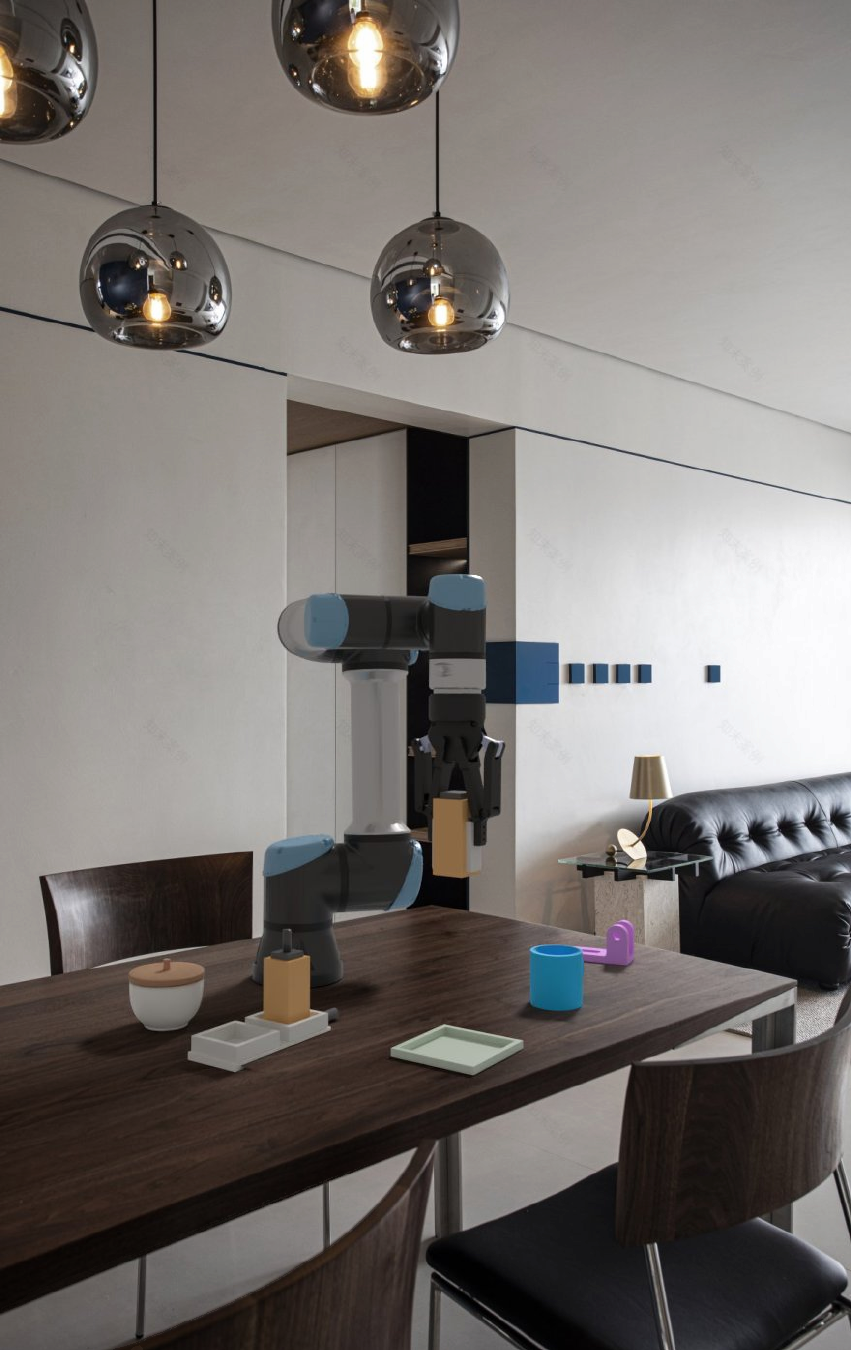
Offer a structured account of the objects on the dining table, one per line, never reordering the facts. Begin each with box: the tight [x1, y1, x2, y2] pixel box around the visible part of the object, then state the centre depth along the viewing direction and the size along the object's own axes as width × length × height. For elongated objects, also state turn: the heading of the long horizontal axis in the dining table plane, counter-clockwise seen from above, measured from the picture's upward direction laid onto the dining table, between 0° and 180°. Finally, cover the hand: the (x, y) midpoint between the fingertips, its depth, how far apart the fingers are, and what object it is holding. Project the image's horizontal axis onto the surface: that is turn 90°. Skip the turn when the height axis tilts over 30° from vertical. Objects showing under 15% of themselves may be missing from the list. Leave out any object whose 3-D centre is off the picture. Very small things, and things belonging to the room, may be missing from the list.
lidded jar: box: [127, 958, 206, 1032], centre depth 158 cm, size 11×11×9 cm
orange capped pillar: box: [432, 790, 481, 879], centre depth 145 cm, size 4×4×11 cm
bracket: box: [573, 919, 636, 966], centre depth 199 cm, size 13×6×7 cm, turn 66°
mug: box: [529, 944, 585, 1012], centre depth 171 cm, size 12×8×8 cm
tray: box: [390, 1023, 524, 1076], centre depth 144 cm, size 13×13×2 cm
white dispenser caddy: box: [187, 929, 340, 1073], centre depth 151 cm, size 25×8×15 cm, turn 146°
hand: (456, 868), depth 145 cm, fingers closed on orange capped pillar, 4 cm apart
